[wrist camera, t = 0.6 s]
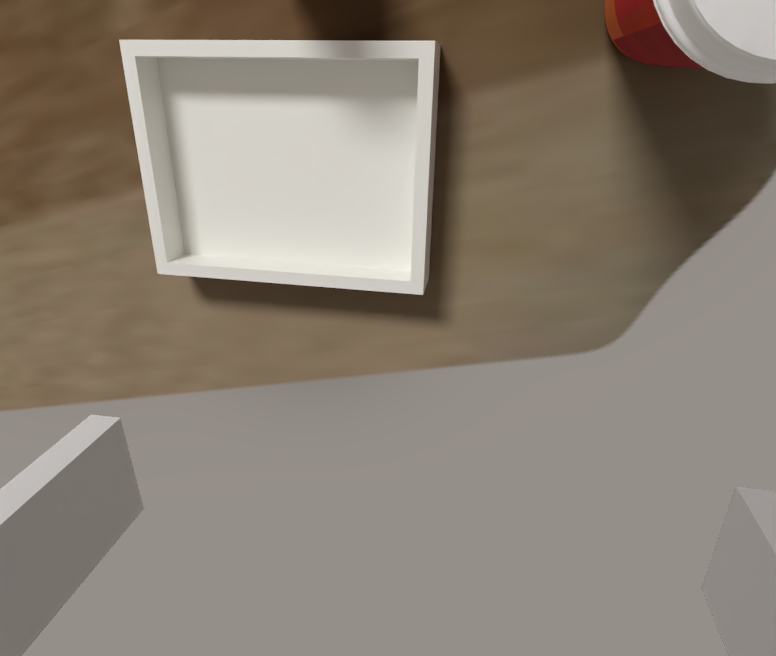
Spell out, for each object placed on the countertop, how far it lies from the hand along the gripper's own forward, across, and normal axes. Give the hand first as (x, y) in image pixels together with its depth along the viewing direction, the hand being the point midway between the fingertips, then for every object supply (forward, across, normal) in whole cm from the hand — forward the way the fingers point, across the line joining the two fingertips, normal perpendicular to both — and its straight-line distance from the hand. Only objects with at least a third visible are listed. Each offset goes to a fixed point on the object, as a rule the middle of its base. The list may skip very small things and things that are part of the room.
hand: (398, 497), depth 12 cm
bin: (+24, -11, +4) cm, 27 cm away
